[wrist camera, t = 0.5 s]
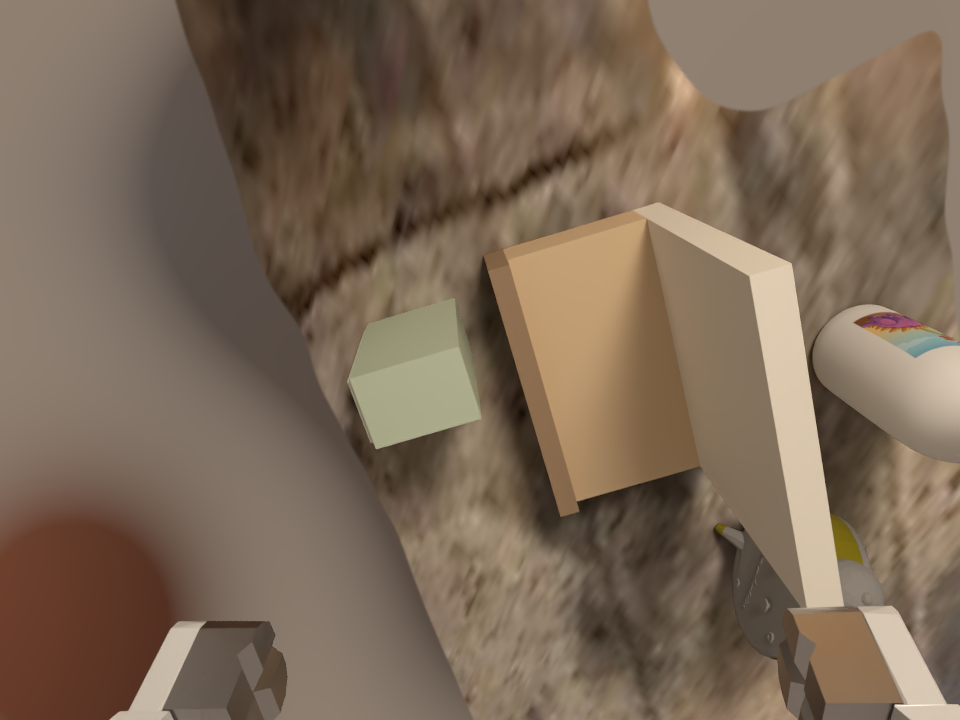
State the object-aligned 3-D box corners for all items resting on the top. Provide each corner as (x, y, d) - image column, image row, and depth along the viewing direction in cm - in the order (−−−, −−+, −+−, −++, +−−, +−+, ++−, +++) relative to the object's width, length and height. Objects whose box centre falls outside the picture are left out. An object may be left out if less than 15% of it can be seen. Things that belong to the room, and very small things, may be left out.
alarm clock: (765, 591, 67) (852, 723, 53) (693, 580, 66) (763, 711, 52) (810, 477, 63) (916, 586, 49) (735, 464, 63) (821, 571, 48)
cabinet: (353, 327, 57) (332, 384, 46) (454, 297, 57) (458, 346, 45) (374, 386, 59) (359, 454, 47) (473, 357, 58) (481, 418, 47)
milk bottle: (856, 410, 61) (1041, 547, 43) (789, 361, 60) (950, 481, 41) (923, 336, 60) (1147, 444, 41) (855, 283, 58) (1057, 371, 39)
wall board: (483, 255, 56) (509, 346, 35) (658, 202, 55) (791, 263, 34) (550, 482, 62) (606, 672, 41) (707, 437, 62) (844, 608, 41)
